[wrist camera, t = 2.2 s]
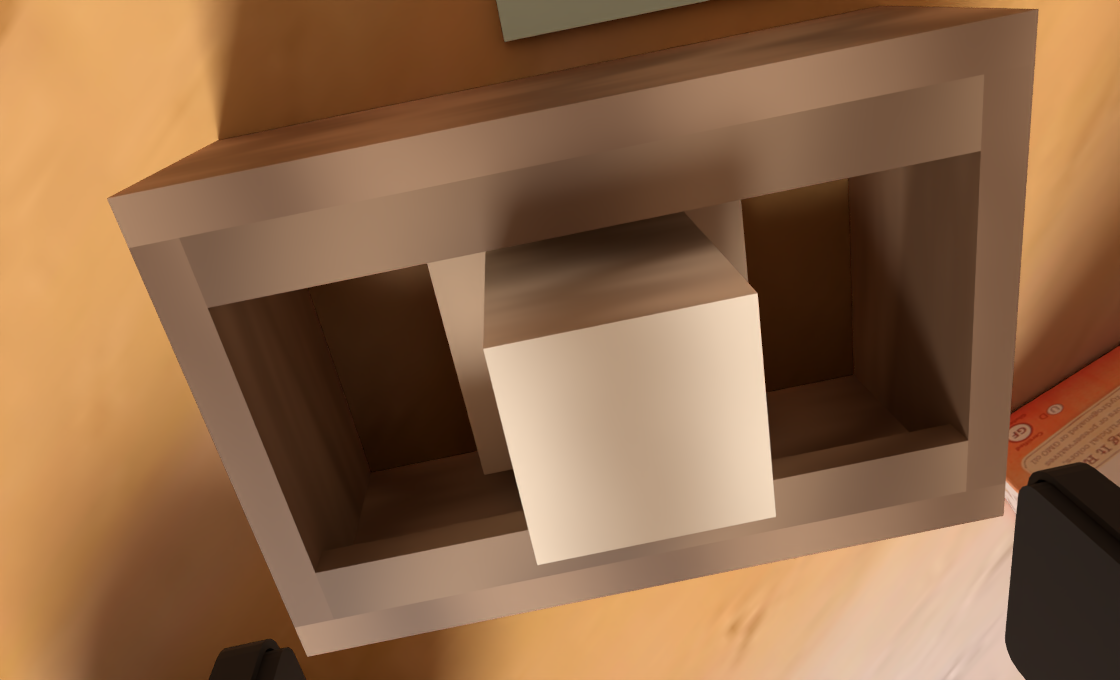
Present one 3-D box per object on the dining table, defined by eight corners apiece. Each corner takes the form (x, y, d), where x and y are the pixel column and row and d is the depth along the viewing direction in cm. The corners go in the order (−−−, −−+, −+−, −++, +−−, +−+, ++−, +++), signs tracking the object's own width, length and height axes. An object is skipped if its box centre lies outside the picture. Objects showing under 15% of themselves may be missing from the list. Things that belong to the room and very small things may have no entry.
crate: (880, 5, 21) (1038, 9, 15) (884, 395, 26) (1003, 515, 20) (217, 140, 21) (107, 198, 15) (350, 503, 26) (307, 656, 20)
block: (681, 209, 19) (757, 293, 14) (703, 383, 21) (776, 516, 16) (485, 248, 19) (483, 348, 14) (525, 419, 21) (537, 565, 16)
